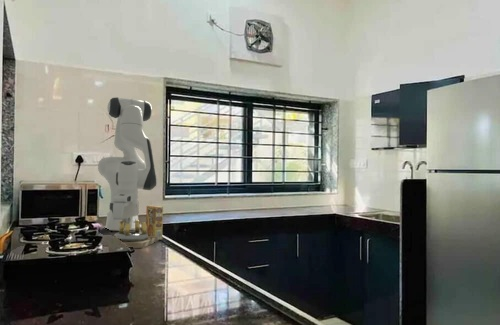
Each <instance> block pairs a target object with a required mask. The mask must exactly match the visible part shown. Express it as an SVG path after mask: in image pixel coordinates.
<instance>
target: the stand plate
mask: <svg viewBox="0 0 500 325" xmlns="http://www.w3.org/2000/svg"><path fill="white" fill-rule="evenodd" d="M158 241H159V240H158V236H148V239H146V240H141V241H122V242H123V243H125V244H126V245H127V246H129V247H133V248H132V249H143V248H146V247H148V246H151V245H152V244H155V243H156V242H158ZM154 242H155V243H154ZM129 247H128V248H129Z"/></svg>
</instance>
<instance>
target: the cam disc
mask: <svg viewBox="0 0 500 325" xmlns="http://www.w3.org/2000/svg"><path fill="white" fill-rule="evenodd" d="M140 224H141V227H140ZM113 235H114V236H116V237H118V238H119V239H121V240H122V241H141V240H146V239H148V233H146V222H145V221H142V222H141V221H140V220H139V219H138V220H136V221H135V230H130V223H125V230H124V221H120V223H119V230H118V232H116V233H114V234H113Z"/></svg>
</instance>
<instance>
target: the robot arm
mask: <svg viewBox="0 0 500 325" xmlns="http://www.w3.org/2000/svg"><path fill="white" fill-rule="evenodd" d="M106 109H107V112H108V115H109V117H111V118H113V119H117V120H116V124H115V131H114V132H115V133H114V142H113V143H114V146H115V148H116V149H117V150H119V151H120V152H122V154H123V156H107V157H106V156H105V157H102V158H100V160H99V162H98V163H97V170H98V172H99V174H100V176H102V177H103V178H105V180H106V181H107V183H108V185H109V188H110V203H109V205H108V206H109V211H108V212H107V214H106V223H105V225H104V226H103V228H104V227H105V228H107V229H109V230H108V231H119V223H120V221H124V231H125V223H130V231H135V221H136V220H139V213H140V207H139V206H140V205H139V204H140V203H139V200H138V198H139V197H138V194H139V191H138V190H142V191H143V190H145V191H152V190H153V189H154V188H156V187H157V184H158V176H157V175H158V174H157V172H156V170H155V169H156V168H155V162H154V157H153V156H154V155H153V149H152V145H151V140H150V138H149V137H148V136H146V134H145V132H144V122H146V121H149V120H150V119H151V116H152V114H153V108H152V104H151V103H150V102H148V101H147V100H140V99H137V98H123V97H116V96H115V97H111V98H110V99H109V101H108V103H107V108H106ZM137 149H138V150H139V151H141V152H142V153H143V155H144V156H143V157H144V159H143V158H142V157H141V156H140V155H139V153H138V151H137ZM105 228H104V229H105ZM140 228H141V223H140ZM107 229H106V230H107Z"/></svg>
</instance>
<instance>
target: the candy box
mask: <svg viewBox="0 0 500 325" xmlns="http://www.w3.org/2000/svg"><path fill="white" fill-rule="evenodd" d="M145 212H146V216H145V217H146V220H145V221H146V233H148V236H158V241H161V240H163V227H164V226H163V224H164V223H163V220H164V219H163V218H164V207H163V206H158V205H146V211H145Z"/></svg>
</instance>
